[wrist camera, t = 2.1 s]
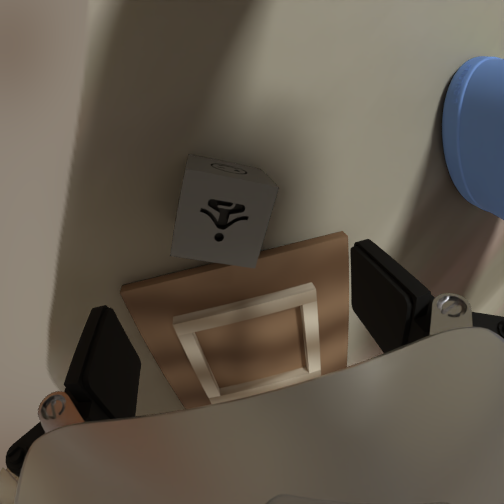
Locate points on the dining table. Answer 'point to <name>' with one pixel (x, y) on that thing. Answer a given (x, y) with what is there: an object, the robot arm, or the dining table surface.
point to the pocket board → (248, 321)
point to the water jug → (476, 132)
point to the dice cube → (222, 212)
